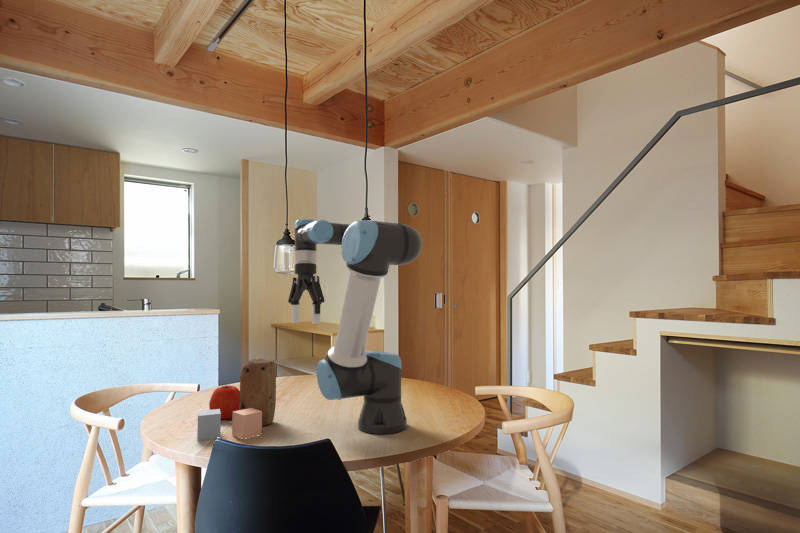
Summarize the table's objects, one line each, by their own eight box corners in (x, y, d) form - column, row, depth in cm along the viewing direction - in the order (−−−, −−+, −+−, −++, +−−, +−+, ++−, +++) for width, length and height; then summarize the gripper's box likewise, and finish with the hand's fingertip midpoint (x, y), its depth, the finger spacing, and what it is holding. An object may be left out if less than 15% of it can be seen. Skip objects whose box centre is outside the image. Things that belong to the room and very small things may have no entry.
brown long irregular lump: (277, 420, 152) (278, 358, 153) (270, 427, 145) (271, 362, 146) (244, 420, 153) (245, 358, 154) (235, 426, 145) (236, 361, 146)
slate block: (220, 438, 134) (220, 413, 134) (197, 441, 132) (198, 415, 132) (219, 432, 140) (219, 408, 140) (197, 435, 137) (197, 410, 138)
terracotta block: (261, 435, 137) (262, 411, 137) (242, 440, 132) (243, 415, 133) (250, 431, 141) (251, 407, 141) (232, 436, 136) (232, 411, 137)
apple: (209, 414, 160) (209, 383, 160) (242, 411, 163) (243, 380, 164) (208, 422, 150) (209, 389, 150) (243, 419, 153) (244, 386, 154)
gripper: (334, 261, 160) (334, 323, 158) (296, 265, 178) (296, 322, 176) (315, 260, 155) (315, 324, 153) (278, 265, 173) (278, 322, 171)
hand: (305, 323), depth 165 cm, fingers open, 13 cm apart
